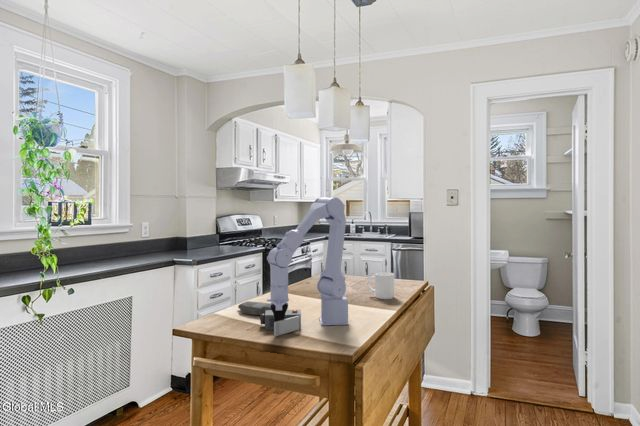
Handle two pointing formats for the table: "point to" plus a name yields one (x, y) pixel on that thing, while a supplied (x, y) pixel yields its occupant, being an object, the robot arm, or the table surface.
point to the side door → (287, 325)
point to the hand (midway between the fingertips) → (279, 326)
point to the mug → (382, 285)
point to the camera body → (269, 318)
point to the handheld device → (254, 307)
